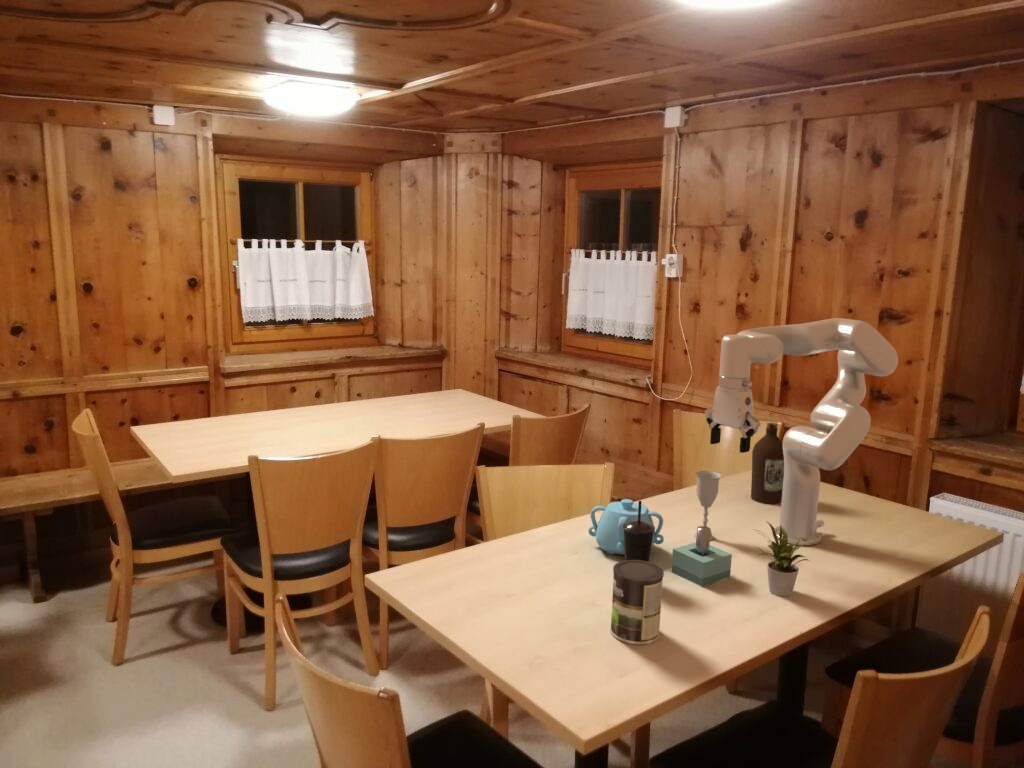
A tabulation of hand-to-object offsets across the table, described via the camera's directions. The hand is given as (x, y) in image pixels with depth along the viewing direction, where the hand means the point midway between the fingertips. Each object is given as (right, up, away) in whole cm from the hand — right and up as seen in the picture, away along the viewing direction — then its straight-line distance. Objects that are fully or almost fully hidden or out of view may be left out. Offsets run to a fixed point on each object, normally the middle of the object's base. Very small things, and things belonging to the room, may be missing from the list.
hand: (729, 447), depth 204 cm
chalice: (-3, -26, +14) cm, 30 cm away
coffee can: (-31, -36, -40) cm, 62 cm away
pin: (-10, -29, -11) cm, 32 cm away
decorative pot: (-27, -28, +4) cm, 39 cm away
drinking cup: (-27, -31, -15) cm, 44 cm away
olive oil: (+25, -21, +47) cm, 57 cm away
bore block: (-10, -30, -11) cm, 34 cm away
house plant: (+6, -32, -18) cm, 38 cm away
